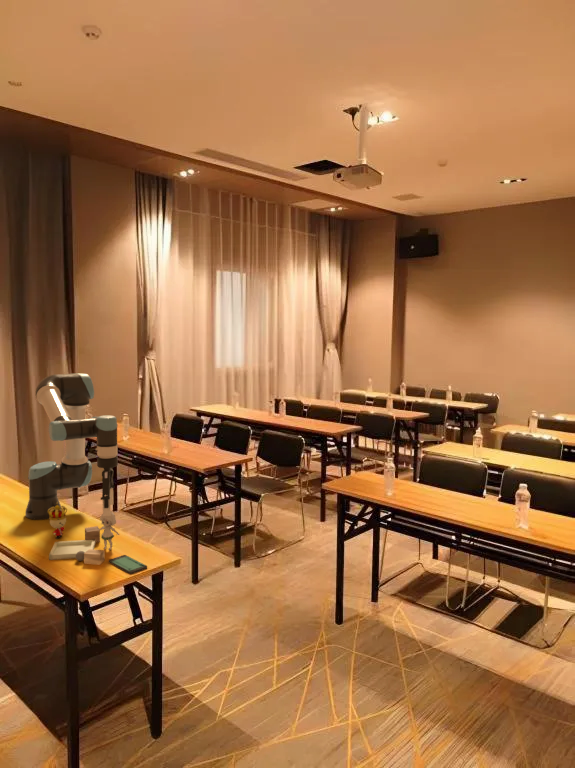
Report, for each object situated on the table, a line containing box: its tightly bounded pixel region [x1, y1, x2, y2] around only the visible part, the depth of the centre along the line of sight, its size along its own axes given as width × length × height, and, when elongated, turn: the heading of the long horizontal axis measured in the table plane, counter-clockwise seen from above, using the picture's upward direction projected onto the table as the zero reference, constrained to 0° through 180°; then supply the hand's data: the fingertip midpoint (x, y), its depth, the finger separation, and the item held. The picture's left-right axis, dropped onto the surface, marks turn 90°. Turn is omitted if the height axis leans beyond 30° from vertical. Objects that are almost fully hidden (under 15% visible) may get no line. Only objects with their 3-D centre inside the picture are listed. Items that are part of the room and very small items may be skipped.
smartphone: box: [108, 554, 148, 575], centre depth 208 cm, size 7×1×15 cm
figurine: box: [98, 510, 120, 551], centre depth 222 cm, size 10×6×15 cm, turn 70°
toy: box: [48, 501, 68, 539], centre depth 232 cm, size 7×7×15 cm
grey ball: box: [75, 551, 85, 562], centre depth 211 cm, size 4×4×4 cm
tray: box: [48, 539, 96, 561], centre depth 219 cm, size 13×15×2 cm
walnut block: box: [84, 525, 101, 544], centre depth 230 cm, size 5×5×5 cm
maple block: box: [83, 548, 106, 566], centre depth 210 cm, size 4×6×4 cm, turn 83°
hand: (108, 510), depth 221 cm, fingers open, 13 cm apart
